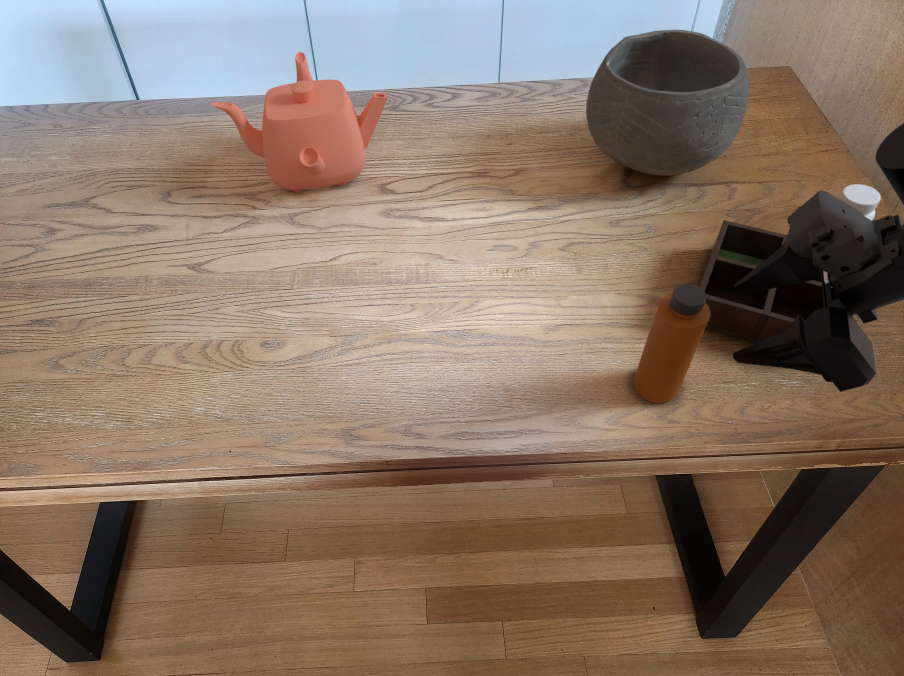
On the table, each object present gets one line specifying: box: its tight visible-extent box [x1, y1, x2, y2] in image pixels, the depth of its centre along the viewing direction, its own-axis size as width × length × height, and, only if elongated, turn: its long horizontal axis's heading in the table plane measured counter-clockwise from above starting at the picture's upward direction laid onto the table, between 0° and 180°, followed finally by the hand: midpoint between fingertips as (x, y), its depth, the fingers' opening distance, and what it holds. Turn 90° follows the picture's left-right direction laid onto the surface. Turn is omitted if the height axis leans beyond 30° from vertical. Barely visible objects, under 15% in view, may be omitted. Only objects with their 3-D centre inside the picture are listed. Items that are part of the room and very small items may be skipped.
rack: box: [698, 219, 839, 344], centre depth 78 cm, size 15×15×5 cm
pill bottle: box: [838, 183, 882, 221], centre depth 81 cm, size 5×5×8 cm
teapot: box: [211, 51, 388, 192], centre depth 98 cm, size 18×18×14 cm
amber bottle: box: [632, 283, 710, 404], centre depth 68 cm, size 5×5×14 cm
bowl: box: [585, 29, 750, 176], centre depth 94 cm, size 21×21×15 cm
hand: (735, 322), depth 63 cm, fingers open, 9 cm apart
